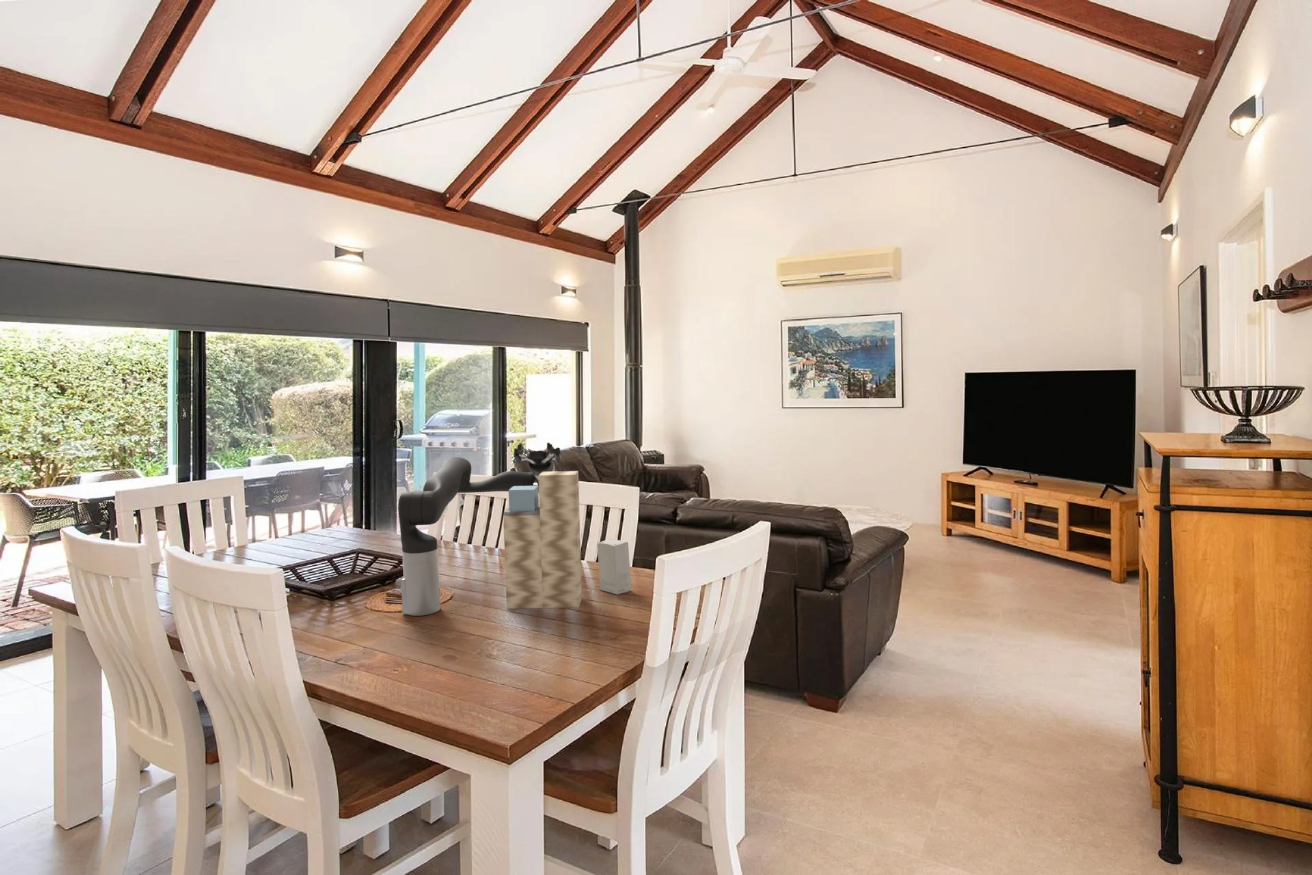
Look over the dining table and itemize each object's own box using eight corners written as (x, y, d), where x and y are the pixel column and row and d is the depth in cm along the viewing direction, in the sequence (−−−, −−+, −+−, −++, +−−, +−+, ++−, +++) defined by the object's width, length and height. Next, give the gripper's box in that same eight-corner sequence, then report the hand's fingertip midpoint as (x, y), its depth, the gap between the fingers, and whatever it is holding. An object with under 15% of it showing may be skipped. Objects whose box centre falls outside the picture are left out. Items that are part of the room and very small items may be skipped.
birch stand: (506, 608, 201) (501, 476, 198) (512, 600, 209) (507, 472, 206) (578, 607, 201) (575, 474, 198) (581, 598, 209) (578, 471, 205)
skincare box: (631, 591, 215) (630, 541, 214) (616, 595, 211) (615, 545, 210) (613, 585, 221) (612, 537, 220) (597, 589, 217) (596, 540, 216)
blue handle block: (509, 511, 200) (508, 490, 199) (520, 501, 216) (519, 481, 216) (534, 511, 200) (534, 489, 199) (544, 500, 216) (543, 480, 216)
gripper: (521, 456, 237) (511, 434, 223) (564, 455, 237) (558, 433, 223) (519, 477, 234) (509, 457, 219) (563, 476, 234) (557, 456, 219)
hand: (534, 445), depth 221 cm, fingers open, 8 cm apart
